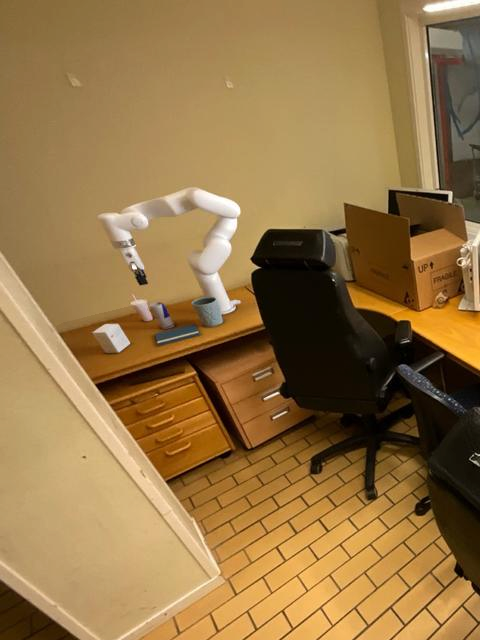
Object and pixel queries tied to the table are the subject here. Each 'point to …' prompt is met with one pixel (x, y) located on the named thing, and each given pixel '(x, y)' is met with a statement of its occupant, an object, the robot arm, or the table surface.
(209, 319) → the blue plant pot
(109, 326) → the small box
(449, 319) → the table surface
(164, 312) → the energy drink
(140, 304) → the smoothie
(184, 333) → the book
